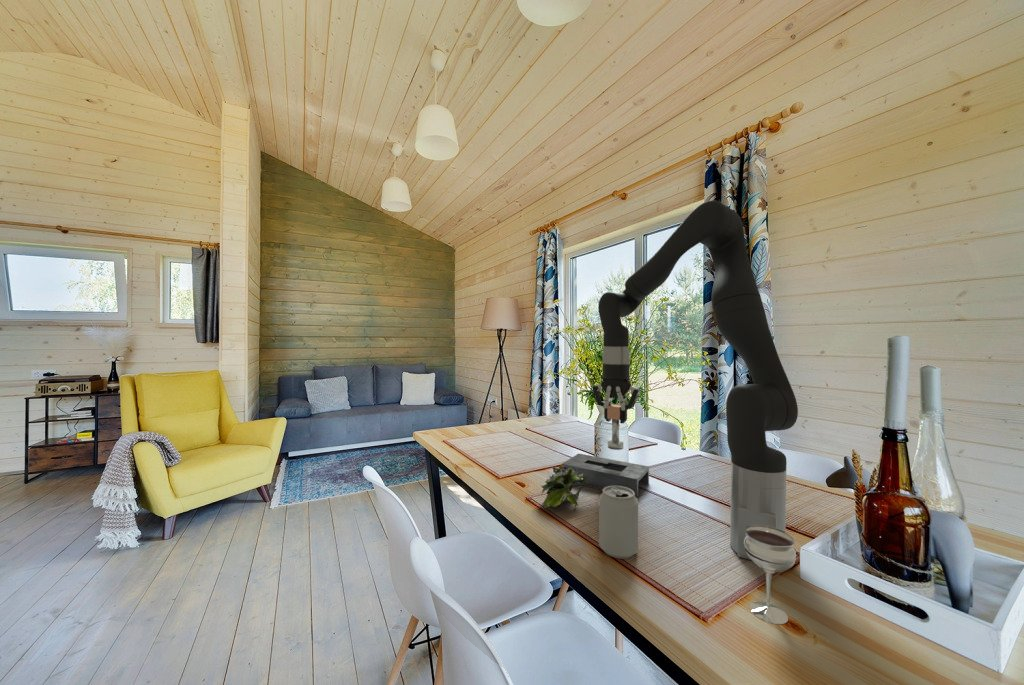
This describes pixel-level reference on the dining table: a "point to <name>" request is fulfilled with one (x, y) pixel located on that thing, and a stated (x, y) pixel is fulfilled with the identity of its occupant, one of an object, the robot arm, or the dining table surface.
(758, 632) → the dining table surface
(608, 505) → the can
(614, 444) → the peg
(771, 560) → the wineglass
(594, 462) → the keyhole plate
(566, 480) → the leafy green plant
